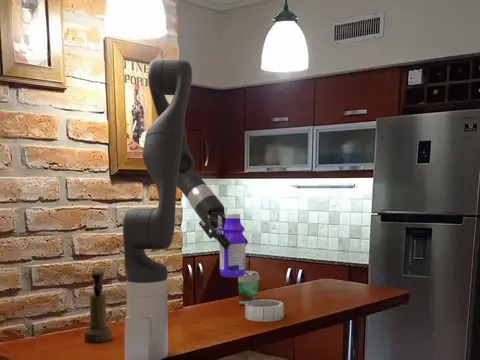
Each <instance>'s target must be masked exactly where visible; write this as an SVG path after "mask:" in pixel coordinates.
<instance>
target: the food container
mask: <svg viewBox="0 0 480 360" xmlns="http://www.w3.org/2000/svg"><path fill="white" fill-rule="evenodd" d="M260 280H261V278H260V274H259V271H256V270H245V274H244V276H240V277H237V281H238V282H237V283H238V305H239V307H245V303H246V302H248V301H252V300H258V288H259V281H260Z"/></svg>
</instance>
